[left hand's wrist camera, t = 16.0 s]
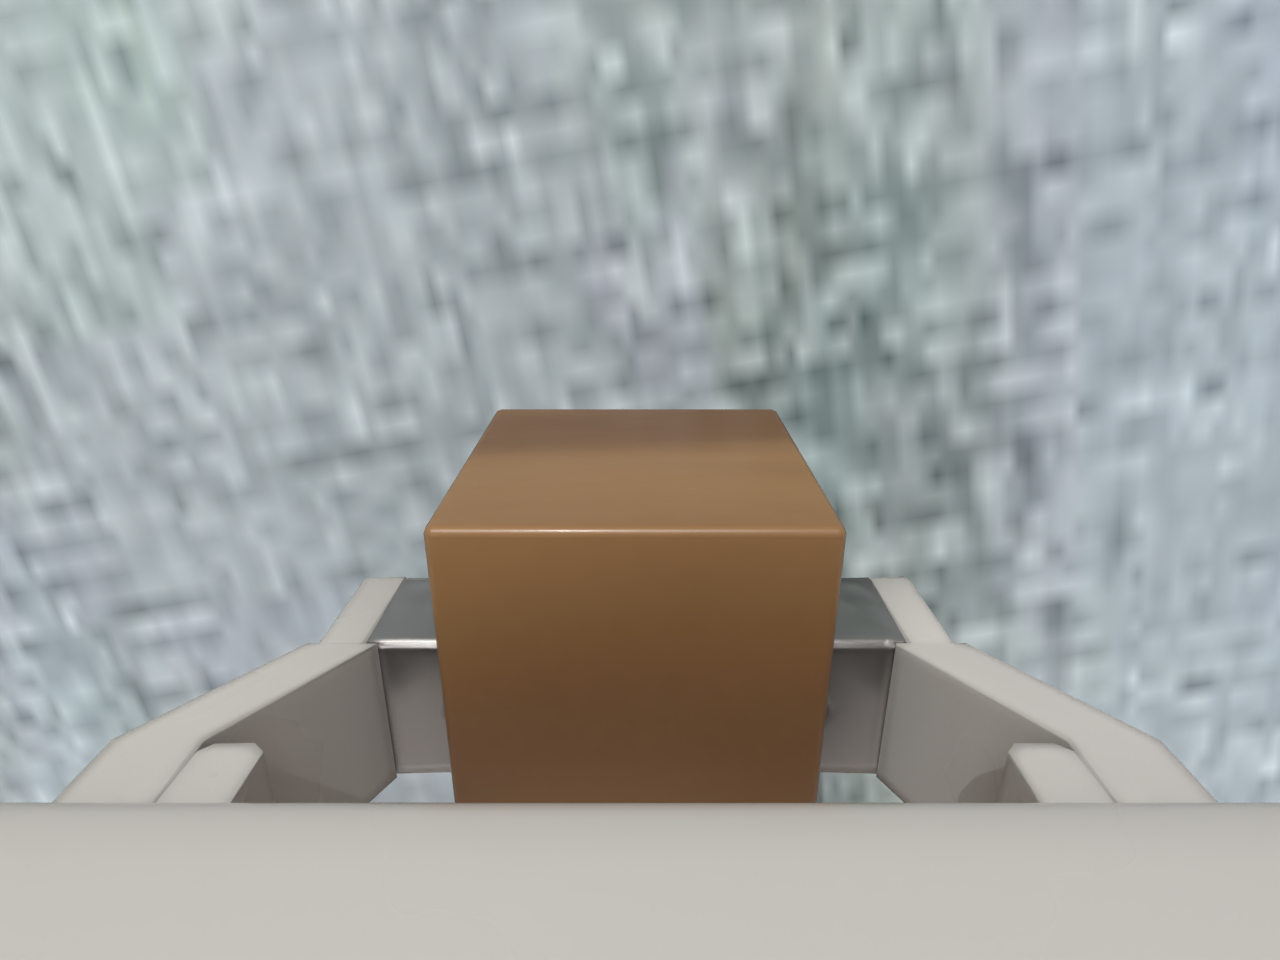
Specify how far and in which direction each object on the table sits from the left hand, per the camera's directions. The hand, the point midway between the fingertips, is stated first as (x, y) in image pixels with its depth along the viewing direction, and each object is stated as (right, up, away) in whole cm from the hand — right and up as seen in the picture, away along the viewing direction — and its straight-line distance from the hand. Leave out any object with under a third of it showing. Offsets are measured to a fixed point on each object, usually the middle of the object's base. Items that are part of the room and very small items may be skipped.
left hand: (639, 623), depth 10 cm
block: (0, +1, +2) cm, 2 cm away
